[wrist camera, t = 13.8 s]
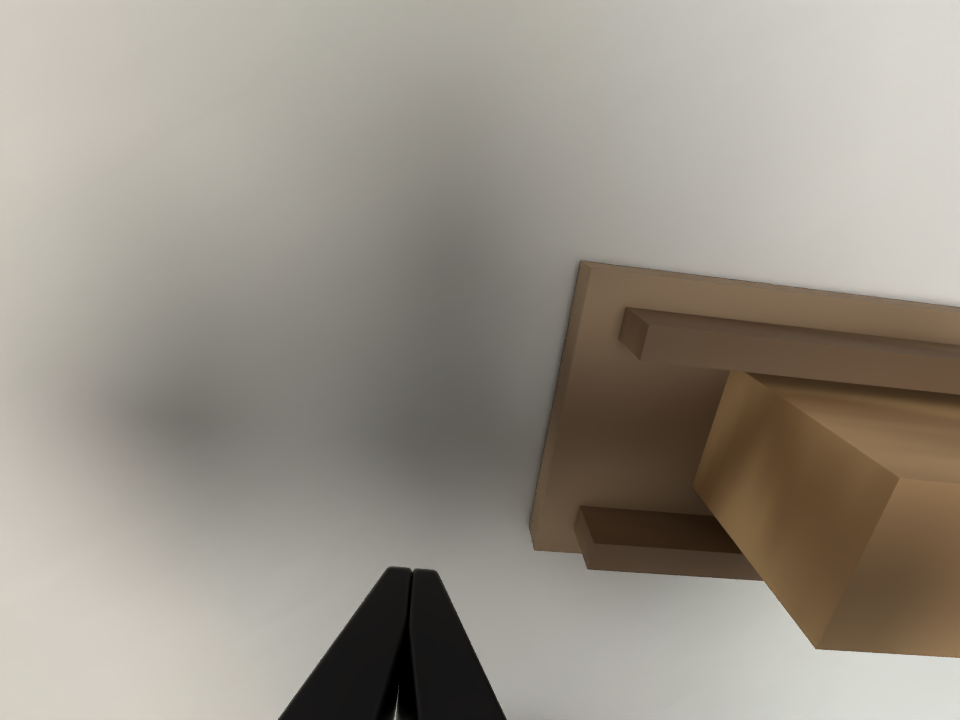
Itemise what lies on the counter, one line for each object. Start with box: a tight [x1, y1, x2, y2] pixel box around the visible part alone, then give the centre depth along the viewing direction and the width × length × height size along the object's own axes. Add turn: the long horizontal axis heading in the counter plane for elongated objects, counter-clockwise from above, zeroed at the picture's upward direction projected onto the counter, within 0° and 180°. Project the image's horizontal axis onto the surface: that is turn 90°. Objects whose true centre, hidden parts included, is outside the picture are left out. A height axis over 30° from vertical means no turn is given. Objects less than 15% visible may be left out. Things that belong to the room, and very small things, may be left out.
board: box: [529, 261, 960, 581], centre depth 14 cm, size 8×20×2 cm, turn 83°
